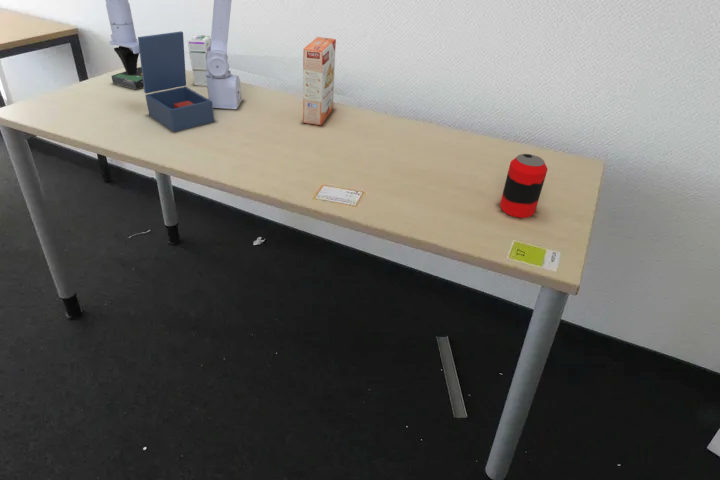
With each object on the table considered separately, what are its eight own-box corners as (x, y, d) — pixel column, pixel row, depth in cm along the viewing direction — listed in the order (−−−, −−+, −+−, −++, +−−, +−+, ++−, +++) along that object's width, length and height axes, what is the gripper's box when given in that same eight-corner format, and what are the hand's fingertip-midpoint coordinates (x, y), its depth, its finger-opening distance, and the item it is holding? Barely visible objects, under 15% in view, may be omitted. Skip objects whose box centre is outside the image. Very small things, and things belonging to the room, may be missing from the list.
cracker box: (322, 126, 144) (323, 50, 132) (302, 123, 145) (301, 47, 133) (334, 109, 155) (336, 38, 143) (315, 107, 156) (316, 35, 144)
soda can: (528, 201, 115) (542, 152, 109) (539, 219, 109) (554, 169, 102) (495, 200, 115) (507, 151, 108) (504, 218, 109) (517, 167, 102)
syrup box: (211, 86, 166) (206, 40, 158) (193, 85, 166) (187, 39, 158) (215, 80, 171) (211, 35, 163) (198, 79, 171) (192, 34, 163)
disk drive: (147, 73, 174) (112, 84, 163) (145, 64, 173) (110, 75, 161) (170, 78, 171) (136, 90, 159) (169, 70, 169) (134, 81, 158)
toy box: (214, 121, 143) (212, 101, 139) (173, 132, 135) (170, 110, 132) (188, 106, 151) (185, 86, 147) (149, 115, 144) (145, 94, 140)
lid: (183, 32, 137) (181, 31, 137) (139, 38, 130) (137, 36, 130) (186, 85, 147) (184, 84, 147) (145, 93, 140) (144, 92, 140)
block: (198, 120, 141) (196, 105, 138) (183, 124, 138) (181, 108, 136) (190, 115, 143) (188, 100, 141) (175, 119, 141) (173, 103, 138)
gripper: (95, 18, 137) (107, 69, 145) (117, 30, 129) (129, 83, 136) (121, 16, 141) (131, 65, 149) (144, 26, 133) (154, 78, 141)
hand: (132, 74), depth 143 cm, fingers closed
